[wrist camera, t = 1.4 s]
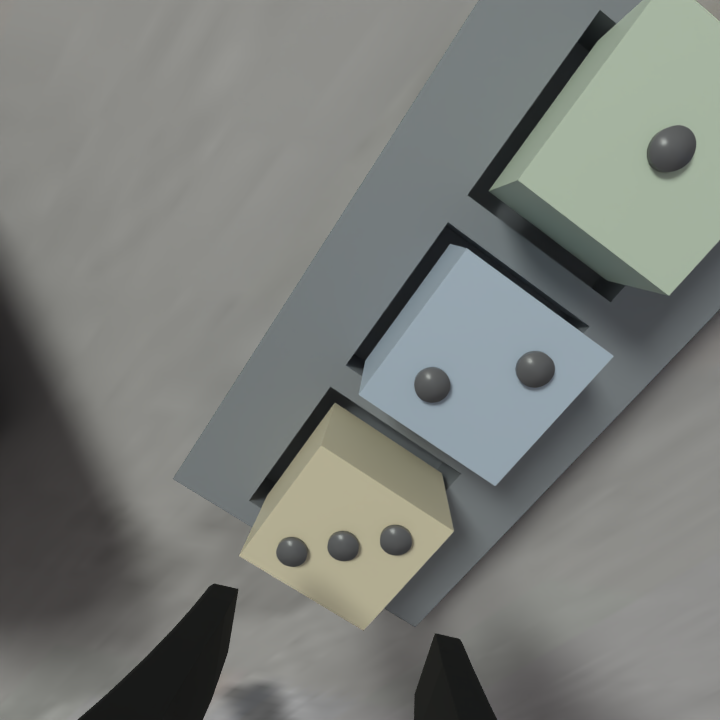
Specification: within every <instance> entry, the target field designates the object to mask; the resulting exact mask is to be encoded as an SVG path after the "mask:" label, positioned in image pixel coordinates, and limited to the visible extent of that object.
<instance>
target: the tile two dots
mask: <svg viewBox="0 0 720 720" xmlns="http://www.w3.org/2000/svg"><path fill="white" fill-rule="evenodd" d="M613 357H614V356H613V355H612V354H610V353H609V352H608V351H606V350H605V349H604V348H602V347H601V346H600V345H598V344H597V343H595V342H594V341H593V340H591V339H590V338H589V337H587V336H586V335H584V334H583V333H582V332H580V331H579V330H578V329H576V328H575V327H574V326H572V325H571V324H569V323H568V322H567V321H565V320H564V319H563V318H561V317H560V316H559V315H557V314H556V313H554V312H553V311H552V310H550V309H549V308H548V307H546V306H545V305H544V304H542V303H541V302H539V301H538V300H537V299H535V298H534V297H533V296H531V295H530V294H529V293H527V292H526V291H524V290H523V289H522V288H520V287H519V286H518V285H516V284H515V283H514V282H512V281H511V280H509V279H508V278H507V277H505V276H504V275H503V274H501V273H500V272H499V271H497V270H496V269H494V268H493V267H492V266H490V265H489V264H488V263H486V262H485V261H484V260H482V259H481V258H479V257H478V256H477V255H475V254H474V253H473V252H471V251H470V250H469V249H467V248H464V247H460V246H456V245H452V244H450V245H449V246H448V248H447V249H446V250H445V252H444V253H443V254H442V256H441V257H440V259H439V260H438V261H437V263H436V264H435V265H434V267H433V268H432V270H431V271H430V272H429V274H428V275H427V276H426V278H425V279H424V281H423V282H422V283H421V285H420V286H419V287H418V289H417V290H416V292H415V293H414V294H413V296H412V297H411V298H410V300H409V301H408V303H407V304H406V305H405V307H404V308H403V309H402V311H401V312H400V314H399V315H398V316H397V318H396V319H395V320H394V322H393V323H392V325H391V326H390V327H389V329H388V330H387V331H386V333H385V334H384V336H383V337H382V338H381V340H380V341H379V342H378V344H377V345H376V347H375V348H374V349H373V351H372V352H371V353H370V355H369V356H368V358H367V359H366V360H365V364H364V369H363V374H362V380H361V385H360V390H359V395H360V396H361V397H363V398H364V399H366V400H367V401H369V402H370V403H372V404H373V405H374V406H376V407H377V408H379V409H380V410H382V411H383V412H385V413H386V414H388V415H389V416H391V417H392V418H394V419H395V420H397V421H398V422H400V423H401V424H403V425H404V426H406V427H407V428H409V429H410V430H412V431H413V432H415V433H416V434H418V435H419V436H421V437H422V438H424V439H425V440H427V441H428V442H430V443H431V444H433V445H434V446H436V447H437V448H439V449H440V450H442V451H443V452H445V453H446V454H448V455H449V456H451V457H452V458H454V459H455V460H457V461H458V462H460V463H461V464H463V465H464V466H466V467H467V468H469V469H470V470H472V471H473V472H475V473H476V474H478V475H479V476H481V477H482V478H484V479H485V480H487V481H488V482H490V483H491V484H493V485H494V486H496V485H497V484H498V483H499V482H500V480H501V479H502V478H503V477H504V476H505V475H506V474H507V473H508V472H509V471H510V470H511V468H512V467H513V466H514V465H515V464H516V463H517V462H518V461H519V460H520V459H521V457H522V456H523V455H524V454H525V453H526V452H527V451H528V450H529V449H530V448H531V446H532V445H533V444H534V443H535V442H536V441H537V440H538V439H539V438H540V437H541V436H542V434H543V433H544V432H545V431H546V430H547V429H548V428H549V427H550V426H551V425H552V423H553V422H554V421H555V420H556V419H557V418H558V417H559V416H560V415H561V414H562V412H563V411H564V410H565V409H566V408H567V407H568V406H569V405H570V404H571V403H572V402H573V400H574V399H575V398H576V397H577V396H578V395H579V394H580V393H581V392H582V391H583V389H584V388H585V387H586V386H587V385H588V384H589V383H590V382H591V381H592V380H593V378H594V377H595V376H596V375H597V374H598V373H599V372H600V371H601V370H602V369H603V368H604V366H605V365H606V364H607V363H608V362H609V361H610V360H611V359H612V358H613Z"/></svg>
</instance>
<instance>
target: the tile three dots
mask: <svg viewBox="0 0 720 720" xmlns="http://www.w3.org/2000/svg"><path fill="white" fill-rule="evenodd" d="M453 532H454V529H453V524H452V519H451V514H450V510H449V505H448V500H447V495H446V490H445V486H444V481H443V476H442V473H441V472H439V471H438V470H436V469H435V468H433V467H432V466H430V465H429V464H427V463H426V462H424V461H423V460H421V459H420V458H418V457H417V456H415V455H414V454H412V453H411V452H409V451H408V450H406V449H405V448H403V447H402V446H400V445H398V444H397V443H395V442H394V441H392V440H391V439H389V438H388V437H386V436H385V435H383V434H382V433H380V432H379V431H377V430H376V429H374V428H373V427H371V426H370V425H368V424H367V423H365V422H364V421H362V420H361V419H359V418H358V417H356V416H355V415H353V414H352V413H350V412H349V411H347V410H346V409H344V408H343V407H341V406H340V405H338V404H337V403H334V404H333V406H332V407H331V408H330V410H329V411H328V413H327V414H326V415H325V417H324V418H323V419H322V421H321V422H320V424H319V425H318V426H317V428H316V429H315V430H314V432H313V433H312V435H311V436H310V437H309V439H308V440H307V441H306V443H305V444H304V446H303V447H302V448H301V450H300V451H299V452H298V454H297V455H296V457H295V458H294V459H293V461H292V462H291V463H290V465H289V466H288V468H287V469H286V470H285V472H284V473H283V474H282V476H281V477H280V479H279V480H278V481H277V483H276V484H275V485H274V487H273V488H272V490H271V491H270V492H269V494H268V495H267V497H266V499H265V501H264V503H263V505H262V508H261V510H260V512H259V514H258V516H257V518H256V521H255V523H254V525H253V527H252V529H251V531H250V534H249V536H248V538H247V540H246V542H245V544H244V546H243V549H242V551H241V553H240V555H239V556H240V557H242V558H243V559H245V560H247V561H248V562H250V563H252V564H253V565H255V566H257V567H258V568H260V569H262V570H263V571H265V572H267V573H268V574H270V575H272V576H273V577H275V578H277V579H278V580H280V581H282V582H283V583H285V584H287V585H288V586H290V587H292V588H293V589H295V590H297V591H298V592H300V593H302V594H303V595H305V596H307V597H308V598H310V599H312V600H313V601H315V602H317V603H318V604H320V605H322V606H323V607H325V608H327V609H328V610H330V611H332V612H333V613H335V614H336V615H338V616H340V617H341V618H343V619H345V620H346V621H348V622H350V623H351V624H353V625H355V626H356V627H358V628H360V629H361V630H363V631H364V630H365V629H366V627H367V626H368V625H369V624H370V623H371V622H372V621H373V620H374V619H375V618H376V616H377V615H378V614H379V613H380V612H381V611H382V610H383V609H384V608H385V607H386V605H387V604H388V603H389V602H390V601H391V600H392V599H393V598H394V597H395V596H396V595H397V593H398V592H399V591H400V590H401V589H402V588H403V587H404V586H405V585H406V584H407V582H408V581H409V580H410V579H411V578H412V577H413V576H414V575H415V574H416V573H417V571H418V570H419V569H420V568H421V567H422V566H423V565H424V564H425V563H426V562H427V561H428V559H429V558H430V557H431V556H432V555H433V554H434V553H435V552H436V551H437V550H438V548H439V547H440V546H441V545H442V544H443V543H444V542H445V541H446V540H447V539H448V537H449V536H450V535H451V534H452V533H453Z"/></svg>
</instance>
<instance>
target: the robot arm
mask: <svg viewBox="0 0 720 720" xmlns="http://www.w3.org/2000/svg"><path fill="white" fill-rule="evenodd" d="M237 594H238V589H236V588H231V587H227V586H223V585H218V584H213V585H211V586H209V587H208V589H207V590H206V591H205V593H204V594H203V595H202V596H201V598H200V599H199V600H198V601H197V602H196V604H195V605H194V606H193V607H192V608H191V609H190V611H189V612H188V613H187V614H186V615H185V616H184V617H183V619H182V620H181V621H180V622H179V623H178V624H177V625H176V626H175V627H174V628H173V630H172V631H171V632H170V633H169V634H168V635H167V636H166V637H165V638H164V639H163V640H162V641H161V642H160V643H159V644H158V645H157V646H156V647H155V648H154V649H153V650H152V651H151V652H150V653H149V655H148V656H147V657H146V658H145V659H144V660H143V661H141V662H140V663H139V664H138V665H137V666H136V667H135V668H134V669H133V670H132V671H131V672H130V673H129V674H128V675H127V676H126V677H125V678H124V679H123V680H121V681H120V682H119V683H118V684H117V685H116V686H115V687H114V688H113V689H112V690H111V691H110V692H109V693H108V694H106V695H105V696H104V697H103V698H102V699H101V700H100V701H99V702H97V703H96V704H95V705H94V706H93V707H92V708H91V709H89V710H88V711H87V712H86V713H85V714H84V715H82V716H81V717H80V718H79V719H78V720H203V718H204V716H205V713H206V711H207V709H208V707H209V704H210V702H211V700H212V697H213V694H214V691H215V688H216V685H217V683H218V680H219V677H220V674H221V671H222V668H223V665H224V662H225V659H226V656H227V653H228V649H229V643H230V637H231V631H232V625H233V619H234V613H235V607H236V600H237ZM414 720H497V718H496V716H495V714H494V712H493V710H492V708H491V706H490V704H489V702H488V700H487V698H486V695H485V693H484V691H483V689H482V687H481V685H480V682H479V680H478V678H477V676H476V674H475V671H474V669H473V667H472V665H471V662H470V660H469V658H468V655H467V653H466V651H465V648H464V646H463V644H462V642H461V641H460V639H458V638H453V637H449V636H444V635H440V634H435V635H434V638H433V641H432V644H431V647H430V650H429V653H428V656H427V659H426V662H425V665H424V668H423V671H422V674H421V677H420V680H419V683H418V686H417V689H416V692H415V707H414Z"/></svg>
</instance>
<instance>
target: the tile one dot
mask: <svg viewBox="0 0 720 720" xmlns="http://www.w3.org/2000/svg"><path fill="white" fill-rule="evenodd" d="M489 192H490V193H492V194H493V195H494V196H496V197H497V198H498V199H500V200H501V201H502V202H504V203H505V204H506V205H507V206H509V207H510V208H511V209H513V210H514V211H515V212H517V213H518V214H519V215H521V216H522V217H523V218H525V219H526V220H527V221H529V222H530V223H531V224H533V225H534V226H535V227H537V228H538V229H539V230H541V231H542V232H543V233H545V234H546V235H547V236H549V237H550V238H551V239H553V240H554V241H555V242H556V243H558V244H559V245H560V246H562V247H563V248H564V249H566V250H567V251H568V252H570V253H571V254H572V255H574V256H575V257H576V258H578V259H579V260H580V261H582V262H583V263H584V264H586V265H587V266H588V267H590V268H591V269H592V270H594V271H595V272H596V273H598V274H599V275H600V276H602V277H603V278H604V279H606V280H607V281H610V282H614V283H618V284H623V285H627V286H631V287H635V288H639V289H643V290H647V291H651V292H656V293H660V294H664V295H668V296H669V295H670V294H671V293H672V292H673V291H674V290H675V289H676V287H677V286H678V285H679V284H680V283H681V282H682V281H683V280H684V279H685V278H686V277H687V275H688V274H689V273H690V272H691V271H692V270H693V269H694V268H695V267H696V266H697V264H698V263H699V262H700V261H701V260H702V259H703V258H704V257H705V256H706V255H707V253H708V252H709V251H710V250H711V249H712V248H713V247H714V246H715V245H716V244H717V243H718V241H719V240H720V21H719V20H717V19H716V18H715V17H714V16H713V15H712V14H711V13H709V12H708V11H707V10H706V9H705V8H704V7H702V6H701V5H700V4H699V3H698V2H697V1H696V0H642V1H641V2H640V3H639V4H638V5H637V6H636V7H635V8H633V9H632V10H631V11H630V12H629V13H628V14H627V15H626V16H625V17H624V18H622V19H621V20H620V21H619V22H618V23H617V24H616V25H615V26H614V27H613V28H611V29H610V30H609V31H608V32H607V33H606V34H605V35H604V36H603V37H601V38H600V39H599V40H598V41H597V43H596V44H595V45H594V47H593V48H592V50H591V51H590V52H589V54H588V55H587V56H586V58H585V59H584V61H583V62H582V63H581V65H580V66H579V67H578V69H577V70H576V72H575V73H574V74H573V76H572V77H571V78H570V80H569V81H568V83H567V84H566V85H565V87H564V88H563V89H562V91H561V92H560V94H559V95H558V96H557V98H556V99H555V100H554V102H553V103H552V105H551V106H550V107H549V109H548V110H547V111H546V113H545V114H544V116H543V117H542V118H541V120H540V121H539V122H538V124H537V125H536V127H535V128H534V129H533V131H532V132H531V133H530V135H529V136H528V138H527V139H526V140H525V142H524V143H523V144H522V146H521V147H520V149H519V150H518V151H517V153H516V154H515V155H514V157H513V158H512V160H511V161H510V162H509V164H508V165H507V166H506V168H505V169H504V171H503V172H502V173H501V175H500V176H499V177H498V179H497V180H496V182H495V183H494V184H493V186H492V187H491V188H490V190H489Z"/></svg>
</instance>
